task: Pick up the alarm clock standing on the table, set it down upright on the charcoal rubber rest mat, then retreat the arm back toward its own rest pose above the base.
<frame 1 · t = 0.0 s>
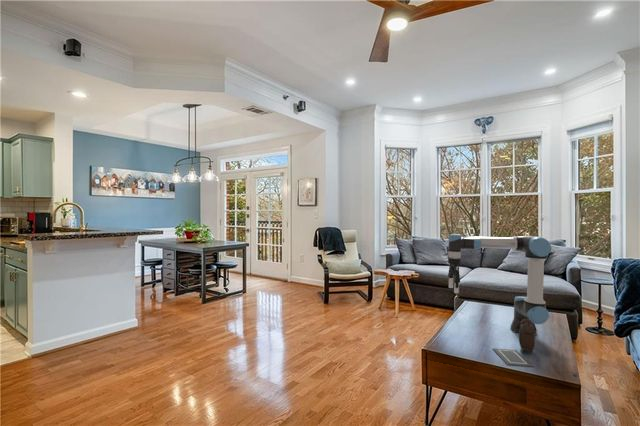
hand: (453, 290, 219), 28 cm above the table, fingers open, 13 cm apart
rest mat: (512, 357, 183), on the table
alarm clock: (525, 351, 193), on the table
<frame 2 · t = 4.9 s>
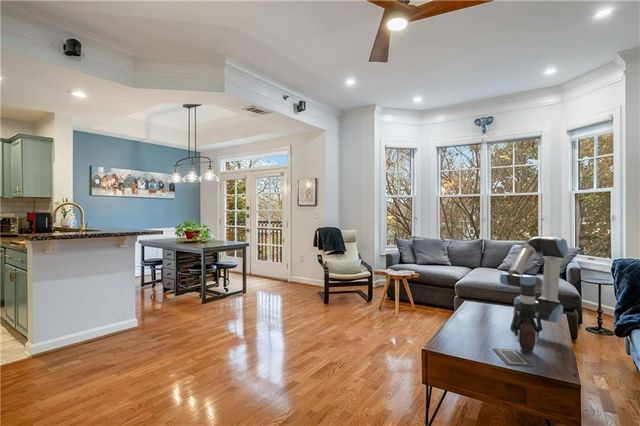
hand: (526, 341, 193), 5 cm above the table, fingers closed on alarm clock, 8 cm apart
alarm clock: (525, 351, 193), on the table, touching gripper
when the fingers open (7 cm above the table, at t = 10.9 s): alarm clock drops 1 cm, resting on rest mat.
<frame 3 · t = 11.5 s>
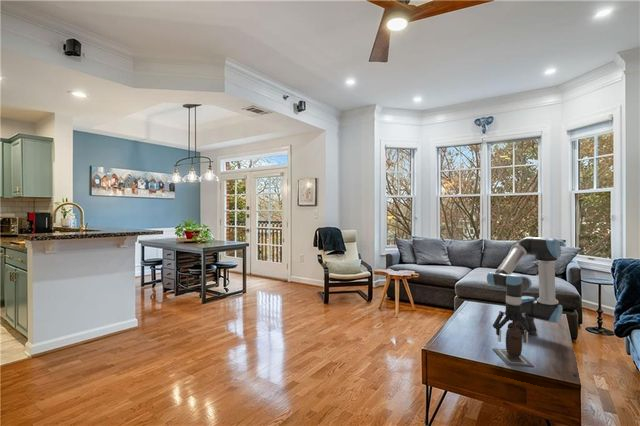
hand: (512, 342, 183), 9 cm above the table, fingers open, 13 cm apart
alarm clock: (512, 356, 183), point 1 cm above the table, touching rest mat
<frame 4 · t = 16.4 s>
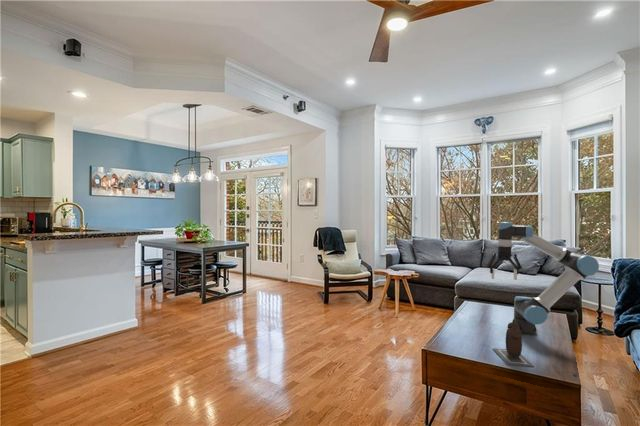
hand: (503, 279, 216), 37 cm above the table, fingers open, 13 cm apart
nothing on the table moved.
at the end: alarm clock inside the target area on the rest mat (0.3 cm from its centre), point 0.5 cm above the rest mat's base; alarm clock tilted 0°; the gripper is holding nothing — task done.
